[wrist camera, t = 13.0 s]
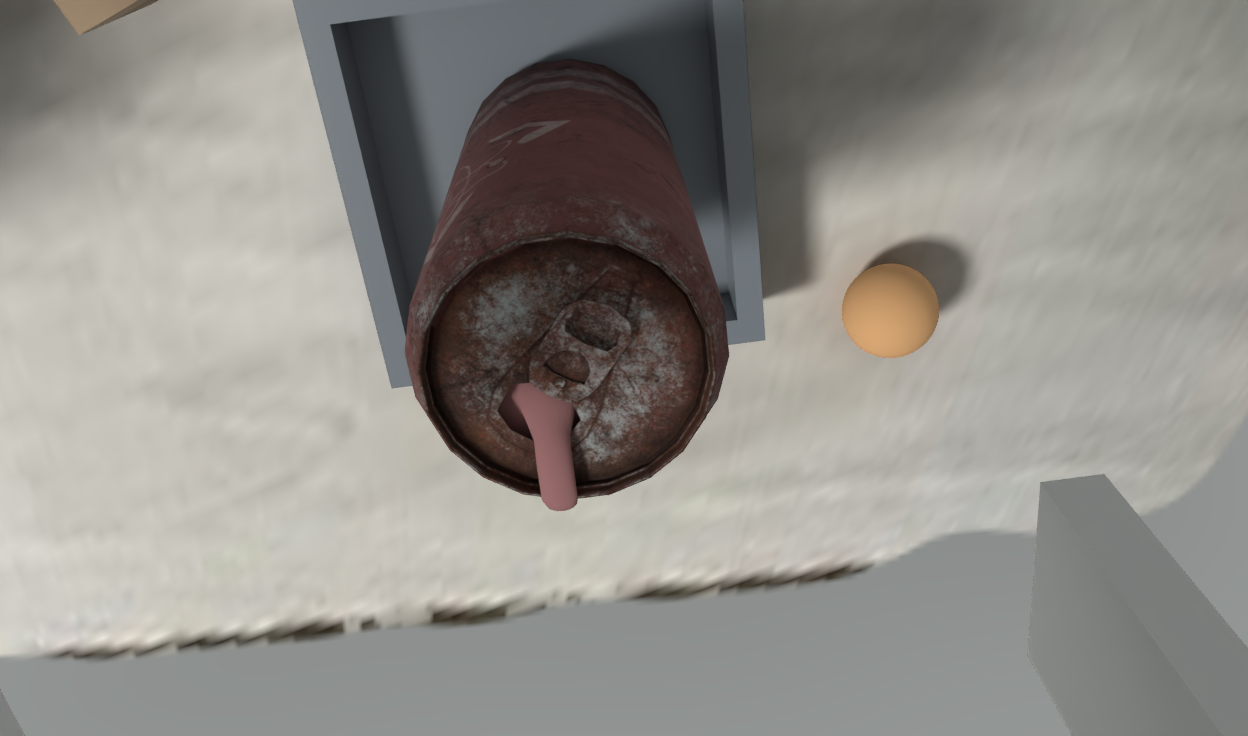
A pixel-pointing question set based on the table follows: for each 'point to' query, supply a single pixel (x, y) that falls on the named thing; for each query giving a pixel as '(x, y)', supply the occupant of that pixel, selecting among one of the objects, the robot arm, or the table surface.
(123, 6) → the walnut block
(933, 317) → the rubber ball
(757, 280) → the tray
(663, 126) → the can
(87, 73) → the table surface
